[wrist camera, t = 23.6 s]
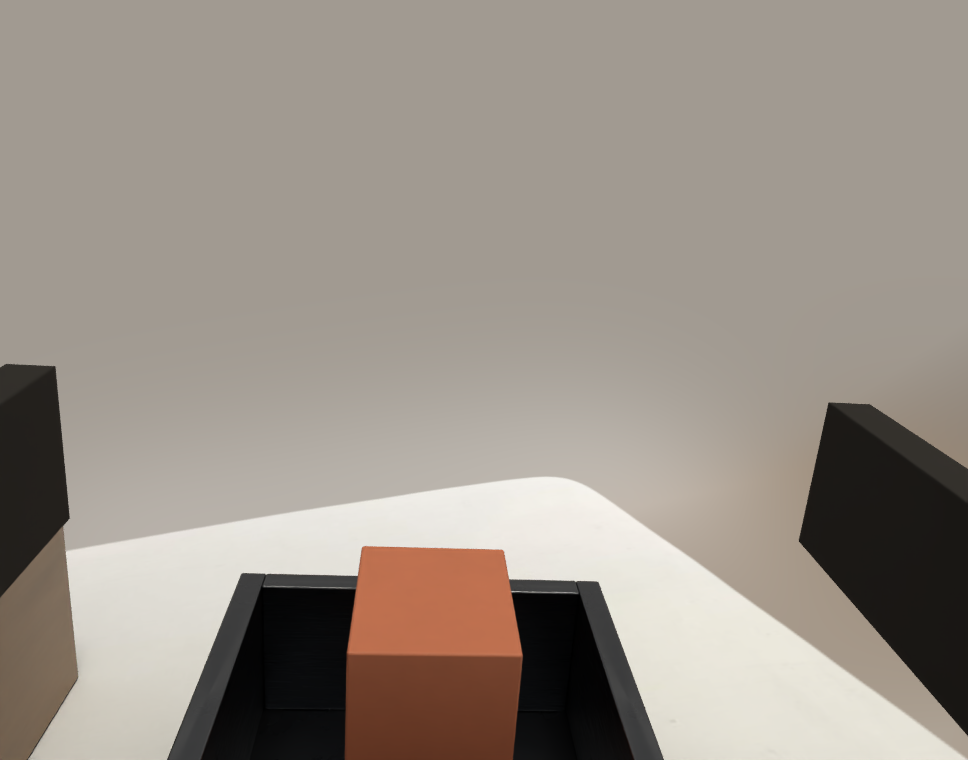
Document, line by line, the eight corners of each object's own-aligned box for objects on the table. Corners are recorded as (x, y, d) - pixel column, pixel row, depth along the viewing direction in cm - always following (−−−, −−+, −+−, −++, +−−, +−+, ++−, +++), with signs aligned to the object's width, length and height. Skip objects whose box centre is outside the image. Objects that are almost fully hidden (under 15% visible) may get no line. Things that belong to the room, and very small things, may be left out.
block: (341, 919, 26) (346, 653, 23) (356, 774, 32) (362, 545, 28) (497, 917, 26) (523, 655, 23) (484, 774, 32) (503, 548, 29)
